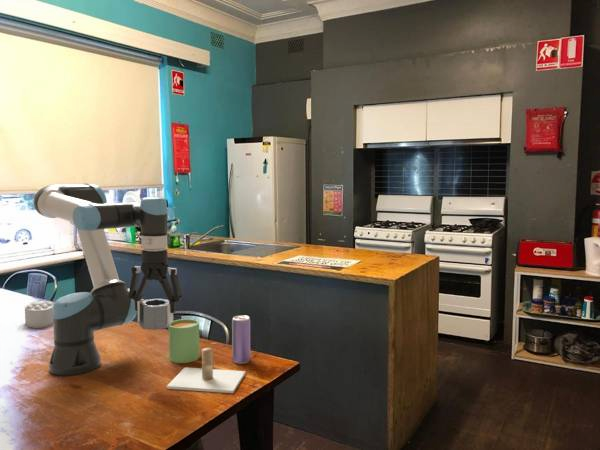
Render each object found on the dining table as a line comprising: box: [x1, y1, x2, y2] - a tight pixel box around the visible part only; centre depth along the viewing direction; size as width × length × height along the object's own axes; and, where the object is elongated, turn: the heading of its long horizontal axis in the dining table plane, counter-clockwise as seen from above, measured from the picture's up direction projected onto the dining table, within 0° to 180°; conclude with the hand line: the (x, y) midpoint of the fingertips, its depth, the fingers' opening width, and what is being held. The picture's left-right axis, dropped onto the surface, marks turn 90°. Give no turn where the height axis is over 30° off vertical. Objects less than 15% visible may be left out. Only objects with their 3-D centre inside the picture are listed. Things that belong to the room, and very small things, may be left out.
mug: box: [168, 318, 201, 364], centre depth 165 cm, size 13×10×12 cm
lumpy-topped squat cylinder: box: [24, 300, 54, 329], centre depth 202 cm, size 10×13×9 cm
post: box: [201, 347, 214, 381], centre depth 146 cm, size 3×3×9 cm
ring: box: [139, 298, 171, 331], centre depth 147 cm, size 9×9×7 cm
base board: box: [166, 366, 246, 394], centre depth 146 cm, size 20×14×1 cm
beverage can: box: [231, 314, 251, 365], centre depth 161 cm, size 6×6×15 cm
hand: (155, 322), depth 147 cm, fingers closed on ring, 9 cm apart
